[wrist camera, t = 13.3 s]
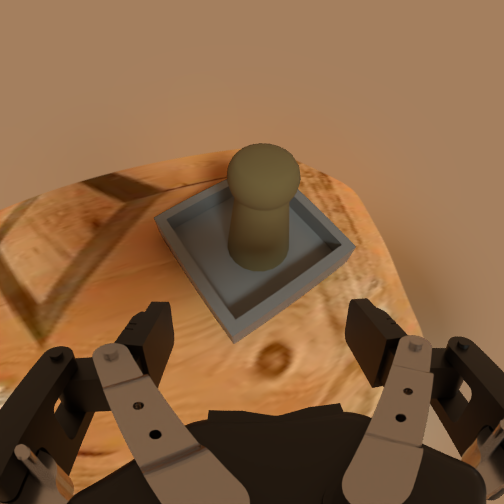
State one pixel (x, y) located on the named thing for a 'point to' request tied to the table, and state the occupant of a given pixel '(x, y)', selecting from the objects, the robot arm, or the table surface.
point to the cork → (261, 205)
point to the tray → (242, 280)
